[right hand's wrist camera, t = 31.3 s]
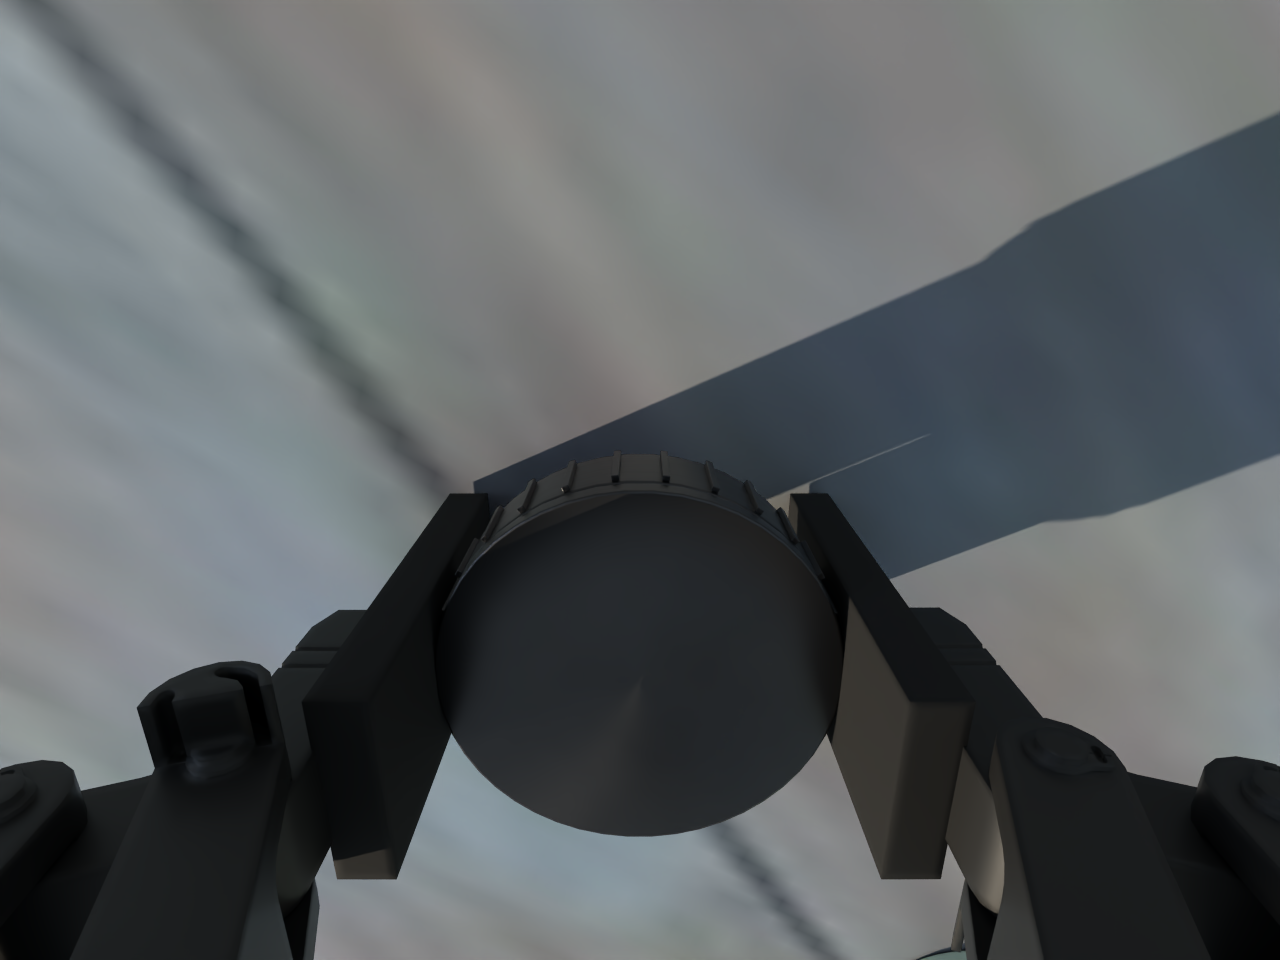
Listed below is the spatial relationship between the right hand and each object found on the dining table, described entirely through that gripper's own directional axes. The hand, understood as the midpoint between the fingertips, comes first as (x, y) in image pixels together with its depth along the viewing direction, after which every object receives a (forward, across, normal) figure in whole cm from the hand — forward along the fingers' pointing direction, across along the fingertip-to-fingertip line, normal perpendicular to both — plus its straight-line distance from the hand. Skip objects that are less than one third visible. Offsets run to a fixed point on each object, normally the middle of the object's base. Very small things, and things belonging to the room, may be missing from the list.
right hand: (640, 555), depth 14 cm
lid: (-4, 0, 0) cm, 4 cm away
